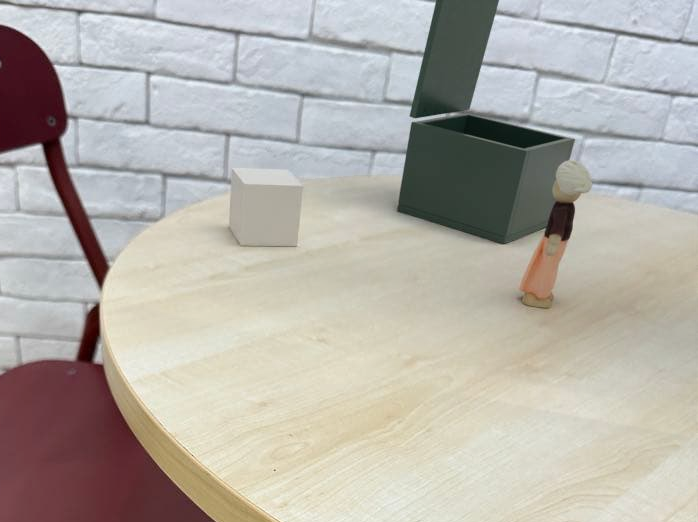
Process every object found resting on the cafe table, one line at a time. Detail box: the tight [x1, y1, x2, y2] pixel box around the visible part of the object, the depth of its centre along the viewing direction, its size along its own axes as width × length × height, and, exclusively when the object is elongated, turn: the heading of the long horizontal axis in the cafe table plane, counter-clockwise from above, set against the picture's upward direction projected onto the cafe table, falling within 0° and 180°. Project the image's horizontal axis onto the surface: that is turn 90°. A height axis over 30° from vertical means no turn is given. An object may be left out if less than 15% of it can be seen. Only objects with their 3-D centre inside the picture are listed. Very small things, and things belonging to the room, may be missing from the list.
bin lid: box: [409, 0, 500, 119], centre depth 96 cm, size 16×13×5 cm
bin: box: [396, 112, 576, 245], centre depth 100 cm, size 15×13×10 cm
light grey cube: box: [228, 167, 304, 247], centre depth 87 cm, size 6×6×6 cm
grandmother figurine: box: [518, 159, 593, 309], centre depth 78 cm, size 8×4×13 cm, turn 168°
